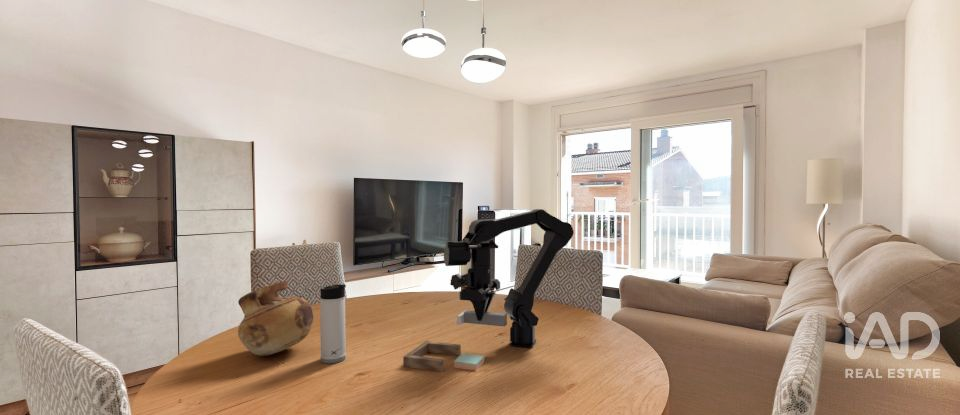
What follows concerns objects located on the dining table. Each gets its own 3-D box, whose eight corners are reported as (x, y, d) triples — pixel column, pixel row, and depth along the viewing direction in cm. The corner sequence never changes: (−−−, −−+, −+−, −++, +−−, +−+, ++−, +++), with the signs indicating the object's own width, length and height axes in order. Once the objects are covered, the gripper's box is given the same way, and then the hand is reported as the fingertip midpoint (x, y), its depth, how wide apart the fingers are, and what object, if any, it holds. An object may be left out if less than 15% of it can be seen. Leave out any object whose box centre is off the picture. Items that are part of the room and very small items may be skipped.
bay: (460, 353, 117) (460, 344, 117) (441, 371, 105) (441, 361, 105) (426, 349, 121) (426, 340, 121) (403, 366, 109) (403, 356, 109)
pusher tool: (508, 322, 122) (509, 311, 122) (502, 328, 115) (502, 317, 115) (465, 318, 126) (465, 308, 126) (456, 324, 120) (456, 313, 120)
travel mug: (339, 364, 110) (338, 287, 110) (315, 362, 111) (315, 286, 111) (351, 356, 116) (350, 282, 116) (329, 354, 117) (328, 281, 117)
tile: (484, 363, 111) (484, 355, 111) (476, 372, 106) (476, 364, 106) (463, 360, 113) (462, 353, 113) (454, 369, 108) (454, 361, 108)
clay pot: (271, 340, 130) (270, 274, 130) (327, 344, 126) (326, 276, 126) (221, 363, 111) (220, 287, 111) (284, 369, 107) (284, 289, 107)
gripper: (466, 259, 132) (466, 309, 133) (441, 267, 115) (441, 325, 115) (500, 260, 129) (500, 312, 129) (480, 269, 111) (480, 329, 111)
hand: (481, 319), depth 121 cm, fingers closed on pusher tool, 2 cm apart
